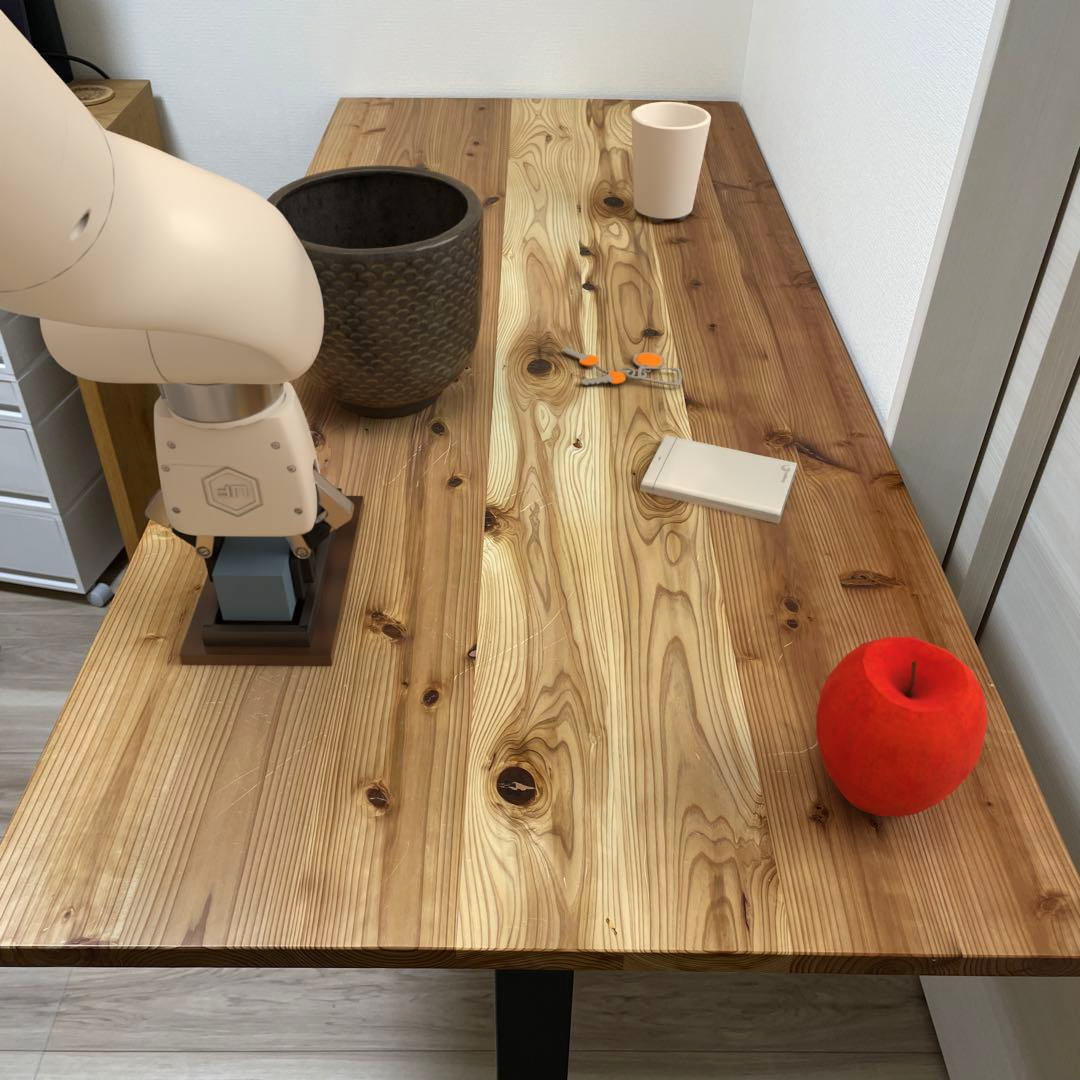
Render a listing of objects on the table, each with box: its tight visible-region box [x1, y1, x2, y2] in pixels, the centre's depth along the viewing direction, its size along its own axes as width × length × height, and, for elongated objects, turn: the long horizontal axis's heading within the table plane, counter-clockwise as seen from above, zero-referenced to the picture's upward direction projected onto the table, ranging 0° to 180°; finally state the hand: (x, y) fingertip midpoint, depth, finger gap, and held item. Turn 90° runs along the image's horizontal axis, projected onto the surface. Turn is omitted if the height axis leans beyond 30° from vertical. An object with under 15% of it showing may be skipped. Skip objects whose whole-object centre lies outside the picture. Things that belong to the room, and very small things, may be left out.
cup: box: [630, 101, 712, 224], centre depth 136 cm, size 10×10×13 cm
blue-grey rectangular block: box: [212, 536, 297, 621], centre depth 79 cm, size 7×5×4 cm
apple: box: [815, 636, 989, 818], centre depth 66 cm, size 10×10×12 cm
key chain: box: [560, 346, 683, 387], centre depth 109 cm, size 13×7×1 cm, turn 83°
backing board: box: [178, 487, 366, 666], centre depth 84 cm, size 19×11×2 cm, turn 0°
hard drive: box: [639, 434, 798, 525], centre depth 96 cm, size 2×8×12 cm
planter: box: [266, 164, 485, 419], centre depth 101 cm, size 20×20×19 cm
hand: (265, 584), depth 80 cm, fingers closed on blue-grey rectangular block, 4 cm apart
